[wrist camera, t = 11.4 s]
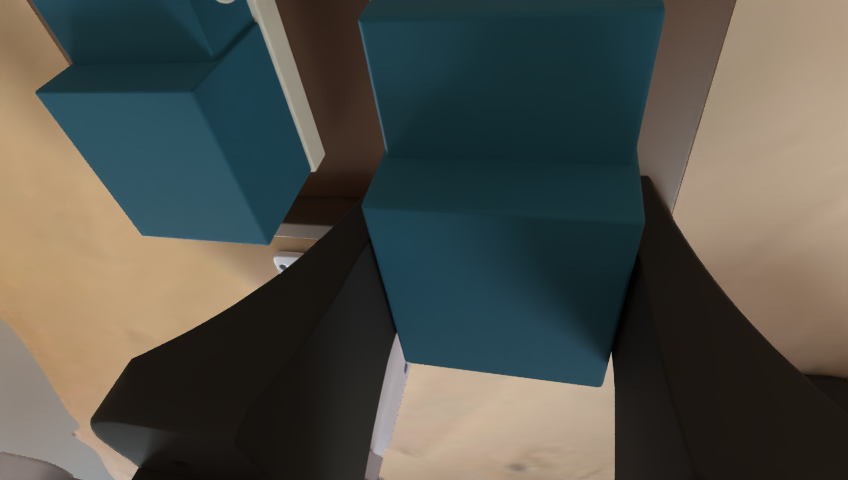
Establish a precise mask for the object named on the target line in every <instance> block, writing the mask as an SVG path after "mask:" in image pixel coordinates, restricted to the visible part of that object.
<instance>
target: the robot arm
mask: <svg viewBox="0 0 848 480" xmlns="http://www.w3.org/2000/svg"><path fill="white" fill-rule="evenodd" d="M640 178H641V188H642V197H643V206H644V215H645V225H644V229H643V233H642V236H641V240H640V244H639V248H638V252H637V255H636V259H635V263H634V267H633V271H632V274H631V278H630V282H629V286H628V290H627V294H626V297H625V301H624V305H623V309H622V313H621V316H620V320H619V324H618V328H617V332H616V335H615V339H614V343H613V347H612V351H611V352H612V361H613V370H614V385H615V480H848V414H847V413H846V412H845V411H844V410H843V409H841V408H840V407H839V406H838V405H837V404H835V403H834V402H833V401H832V400H831V399H830V398H828V397H827V396H826V395H825V394H824V393H822V392H821V391H820V390H819V389H818V388H817V387H816V386H815V385H813V384H812V383H811V382H810V381H809V380H808V379H807V378H806V377H805V376H804V375H803V374H802V373H801V372H800V371H798V370H797V369H796V368H795V367H794V366H793V365H792V364H791V363H790V362H789V361H788V360H787V359H786V358H785V357H783V356H782V355H781V354H780V353H779V352H778V351H777V350H776V349H775V348H774V347H773V346H772V345H771V344H770V343H769V342H768V341H767V340H766V339H765V338H764V337H763V335H762V334H761V333H760V332H759V331H758V330H757V329H756V328H755V327H754V326H753V325H752V324H751V323H750V322H749V320H748V319H747V318H746V317H745V316H744V315H743V314H742V313H741V312H740V310H739V309H738V308H737V307H736V306H735V305H734V303H733V302H732V301H731V300H730V299H729V298H728V296H727V295H726V294H725V293H724V291H723V290H722V289H721V288H720V286H719V285H718V284H717V282H716V281H715V280H714V278H713V277H712V276H711V275H710V273H709V272H708V271H707V269H706V268H705V267H704V265H703V264H702V262H701V261H700V260H699V258H698V257H697V255H696V254H695V252H694V251H693V249H692V248H691V246H690V245H689V243H688V242H687V240H686V239H685V237H684V236H683V234H682V233H681V231H680V230H679V228H678V226H677V225H676V223H675V221H674V220H673V218H672V216H671V215H670V213H669V211H668V209H667V208H666V206H665V204H664V202H663V200H662V199H661V197H660V195H659V193H658V191H657V189H656V187H655V185H654V183H653V181H652V179H651V178H650V177H649V176H644V175H640ZM366 193H367V192H366ZM366 193H365V194H364V195H363V196H362V197H361V198H360V200H359V201H358V202H357V203H356V204H355V205H354V206H353V207H352V208H351V209H350V210H349V211H348V212H347V213H346V214H345V215H344V216H343V217H342V218H341V219H340V220H339V221H338V222H337V223H336V224H335V225H334V226H333V227H332V228H331V229H330V230H329V231H328V232H327V233H326V234H325V235H324V236H323V237H322V238H321V239H320V240H318V241H317V242H316V243H315V244H314V245H313V246H312V247H311V248H310V249H309V250H308V251H306V252H305V253H299V252H286V251H278V252H276V253H275V255H274V257H273V260H274V262H275V264H276V266H277V268H278V270H279V272H280V273H279V274H278V275H277V276H275V277H274V278H273V279H271V280H270V281H269V282H267V283H266V284H264V285H263V286H261V287H260V288H258V289H257V290H255V291H254V292H252V293H251V294H249V295H248V296H246V297H245V298H244V299H242V300H241V301H239V302H238V303H236V304H235V305H233V306H231V307H230V308H228V309H226V310H225V311H223V312H221V313H220V314H218V315H216V316H215V317H213V318H211V319H210V320H208V321H206V322H204V323H202V324H201V325H199V326H197V327H195V328H194V329H192V330H190V331H188V332H186V333H184V334H182V335H180V336H178V337H176V338H174V339H172V340H170V341H168V342H166V343H164V344H162V345H160V346H158V347H156V348H154V349H152V350H150V351H148V352H146V353H144V354H142V355H139V356H137V357H135V358H133V359H131V361H130V362H129V363H128V365H127V366H126V368H125V369H124V371H123V372H122V374H121V375H120V376H119V378H118V379H117V381H116V382H115V384H114V385H113V387H112V388H111V390H110V391H109V393H108V394H107V396H106V397H105V399H104V400H103V402H102V403H101V405H100V406H99V408H98V409H97V411H96V412H95V414H94V415H93V416H92V418H91V422H90V425H91V429H92V431H93V432H94V433H95V435H96V436H97V437H98V438H99V439H101V440H102V441H103V442H104V443H106V444H107V445H108V446H110V447H111V448H113V449H114V450H115V451H117V452H118V453H120V454H121V455H122V456H124V457H125V458H127V459H128V460H129V461H131V462H132V463H134V464H135V465H136V466H138V467H139V468H138V470H137V471H136V473H135V475H134V477H133V478H132V480H385V479H384V478H382V477H379V473H380V469H381V465H382V461H383V457H381V456H382V455H383V453H384V452H385V450H386V449H387V447H388V445H389V443H390V441H391V439H392V435H393V432H394V428H395V424H396V420H397V416H398V412H399V408H400V405H401V401H402V397H403V393H404V389H405V385H406V381H407V378H408V374H409V370H410V366H411V363H409V362H406V361H405V359H404V355H403V352H402V348H401V345H400V341H399V337H398V334H397V330H396V327H395V323H394V320H393V316H392V313H391V309H390V306H389V302H388V299H387V295H386V292H385V288H384V285H383V281H382V277H381V274H380V270H379V267H378V263H377V260H376V256H375V253H374V249H373V246H372V242H371V239H370V235H369V232H368V228H367V225H366V221H365V218H364V214H363V210H362V202H363V200H364V198H365V195H366ZM0 480H81V479H77V478H74V477H73V475H72V474H70V473H69V472H67V471H66V470H64V469H62V468H60V467H58V466H56V465H54V464H51V463H48V462H46V461H42V460H39V459H34V458H29V457H25V456H20V455H15V454H11V453H6V452H0Z"/></svg>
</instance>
